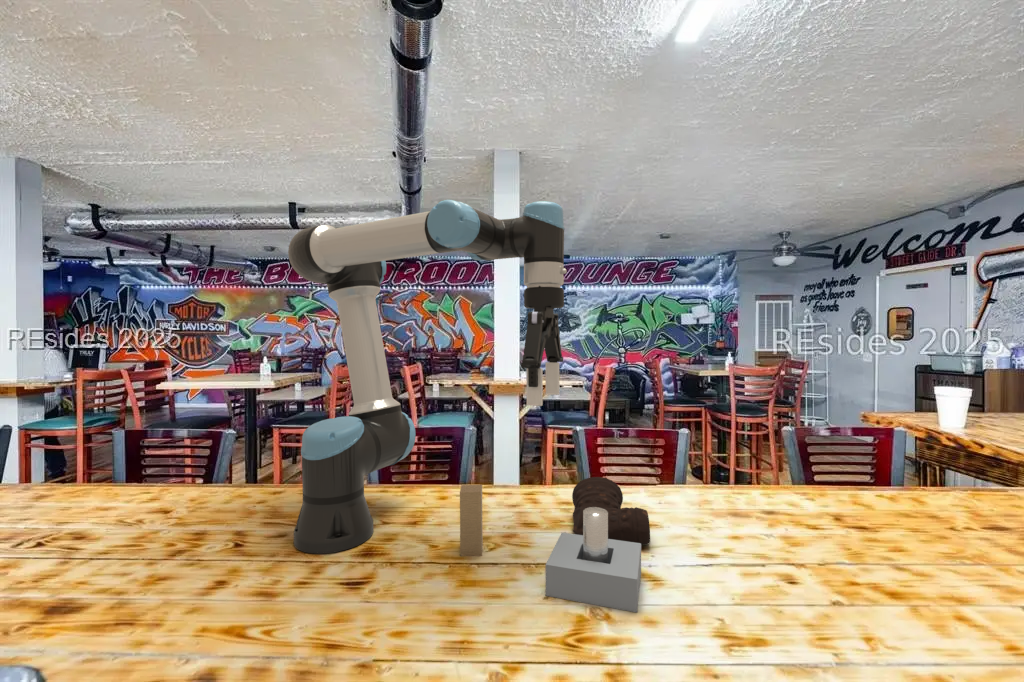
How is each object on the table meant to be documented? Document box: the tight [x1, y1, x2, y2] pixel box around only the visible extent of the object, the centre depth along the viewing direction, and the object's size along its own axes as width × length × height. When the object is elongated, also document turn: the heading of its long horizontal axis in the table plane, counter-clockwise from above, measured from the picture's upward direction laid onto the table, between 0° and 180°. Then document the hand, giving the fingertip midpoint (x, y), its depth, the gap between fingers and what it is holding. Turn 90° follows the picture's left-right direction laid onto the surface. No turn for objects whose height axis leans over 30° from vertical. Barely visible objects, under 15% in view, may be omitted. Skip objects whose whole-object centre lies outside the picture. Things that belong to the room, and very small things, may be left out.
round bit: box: [583, 507, 608, 564], centre depth 77 cm, size 4×4×12 cm
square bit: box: [459, 484, 484, 557], centre depth 88 cm, size 4×4×12 cm
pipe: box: [571, 476, 651, 546], centre depth 96 cm, size 10×15×15 cm
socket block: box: [545, 532, 642, 613], centre depth 77 cm, size 14×12×5 cm
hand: (544, 399), depth 88 cm, fingers open, 13 cm apart
